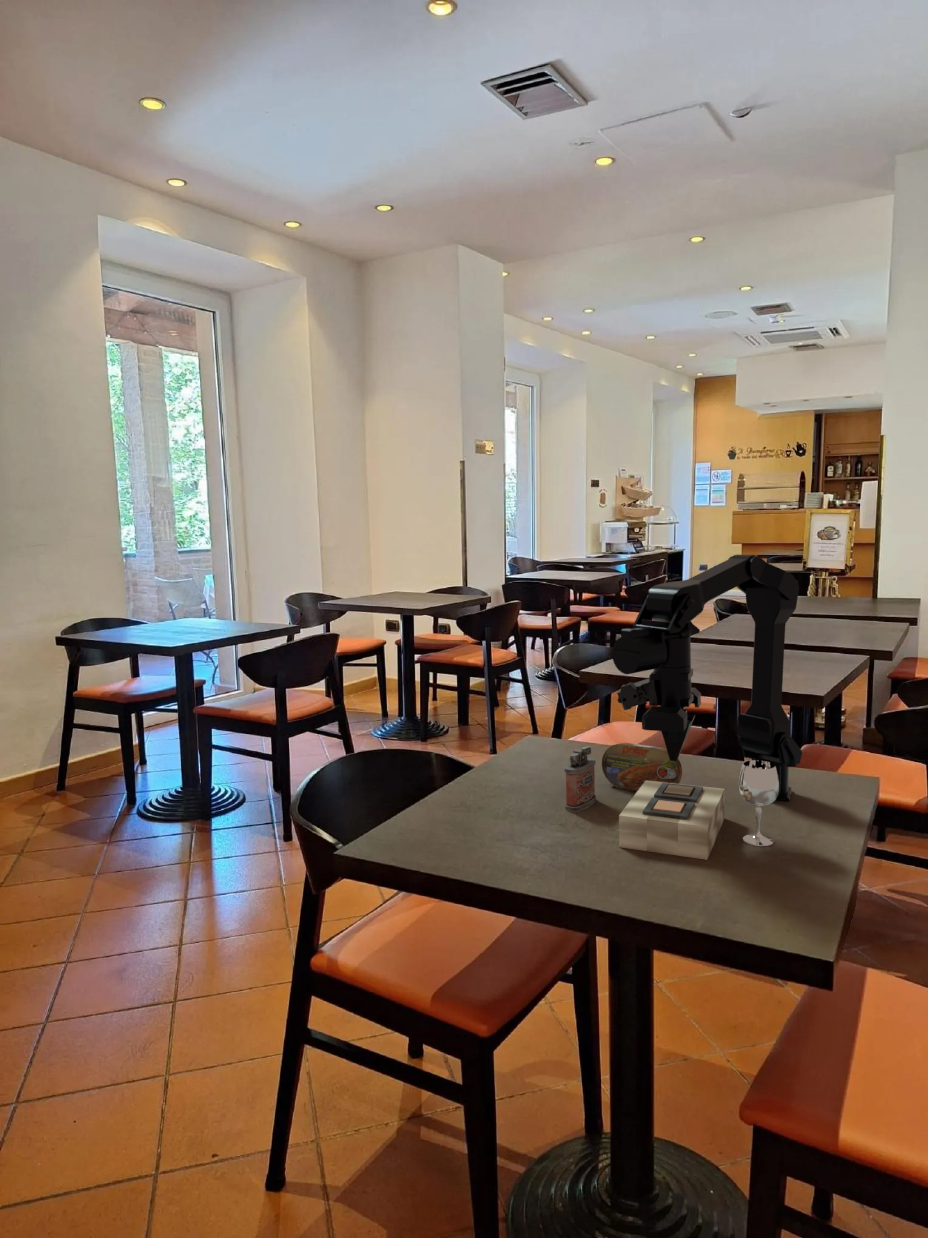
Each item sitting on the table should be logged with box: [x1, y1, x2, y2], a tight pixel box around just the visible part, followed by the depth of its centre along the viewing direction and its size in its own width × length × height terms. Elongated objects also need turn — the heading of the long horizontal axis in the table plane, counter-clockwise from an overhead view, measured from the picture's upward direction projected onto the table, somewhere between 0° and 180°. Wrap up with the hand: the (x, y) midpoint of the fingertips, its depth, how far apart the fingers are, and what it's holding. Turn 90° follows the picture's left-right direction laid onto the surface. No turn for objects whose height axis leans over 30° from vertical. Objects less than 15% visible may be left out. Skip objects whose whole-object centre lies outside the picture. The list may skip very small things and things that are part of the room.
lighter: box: [564, 745, 597, 813], centre depth 142 cm, size 8×3×10 cm, turn 143°
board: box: [618, 780, 726, 861], centre depth 129 cm, size 18×13×6 cm
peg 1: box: [664, 785, 694, 797], centre depth 132 cm, size 4×4×5 cm
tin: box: [601, 742, 683, 792], centre depth 150 cm, size 15×3×8 cm, turn 54°
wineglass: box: [738, 759, 779, 847], centre depth 124 cm, size 6×6×12 cm
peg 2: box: [653, 800, 685, 814], centre depth 125 cm, size 4×4×5 cm
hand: (673, 760), depth 130 cm, fingers closed
